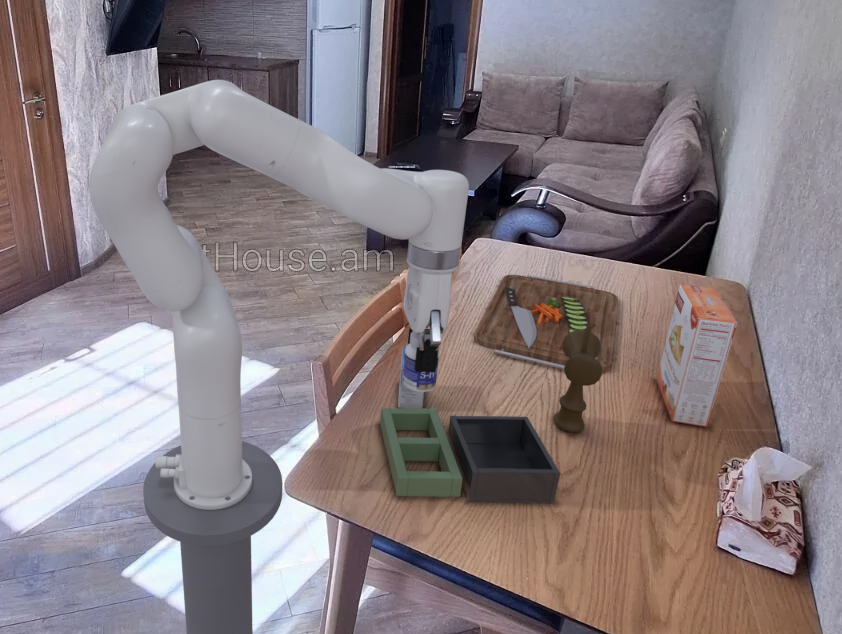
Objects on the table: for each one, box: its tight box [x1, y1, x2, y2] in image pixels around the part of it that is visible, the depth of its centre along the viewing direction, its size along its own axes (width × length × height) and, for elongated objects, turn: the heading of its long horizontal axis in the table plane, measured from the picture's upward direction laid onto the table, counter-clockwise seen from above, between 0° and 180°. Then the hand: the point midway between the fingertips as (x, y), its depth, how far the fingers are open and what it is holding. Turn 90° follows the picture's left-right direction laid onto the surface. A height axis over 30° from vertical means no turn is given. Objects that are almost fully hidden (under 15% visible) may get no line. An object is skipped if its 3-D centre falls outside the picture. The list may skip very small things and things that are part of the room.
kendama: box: [552, 324, 603, 434], centre depth 109 cm, size 6×10×20 cm, turn 157°
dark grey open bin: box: [447, 415, 561, 504], centre depth 101 cm, size 13×14×6 cm
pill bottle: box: [403, 332, 440, 393], centre depth 102 cm, size 5×5×9 cm
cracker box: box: [656, 284, 738, 428], centre depth 115 cm, size 14×6×21 cm, turn 160°
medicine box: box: [397, 346, 425, 409], centre depth 119 cm, size 8×4×9 cm, turn 167°
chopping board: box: [473, 274, 619, 374], centre depth 149 cm, size 45×27×3 cm, turn 151°
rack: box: [379, 407, 463, 498], centre depth 104 cm, size 10×18×4 cm, turn 179°
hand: (421, 359), depth 102 cm, fingers closed on pill bottle, 5 cm apart
